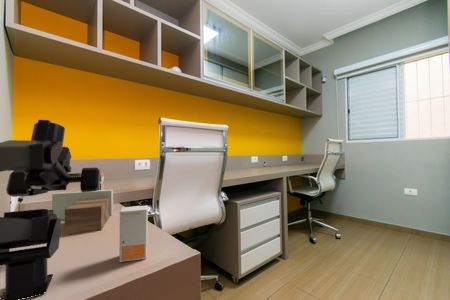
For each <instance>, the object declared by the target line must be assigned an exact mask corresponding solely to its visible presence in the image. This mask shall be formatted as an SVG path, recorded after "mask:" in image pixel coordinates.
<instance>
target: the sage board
mask: <svg viewBox="0 0 450 300" xmlns="http://www.w3.org/2000/svg"><path fill="white" fill-rule="evenodd" d="M51 196H52V197H51V207H52V208H51V210H54V212H53V213H54V214H56V215H57V218H59V219H60V221H65V209H66V208H68V207H69V206H71V205H72V204H74V203H75V202H77V201H78V200H85V199H99V198H109V217H111V216H113V215H114V189H104V190H97V191H91V192H81V190H80V191H79V190H78V191H63V192H54V193H52V194H51Z"/></svg>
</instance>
